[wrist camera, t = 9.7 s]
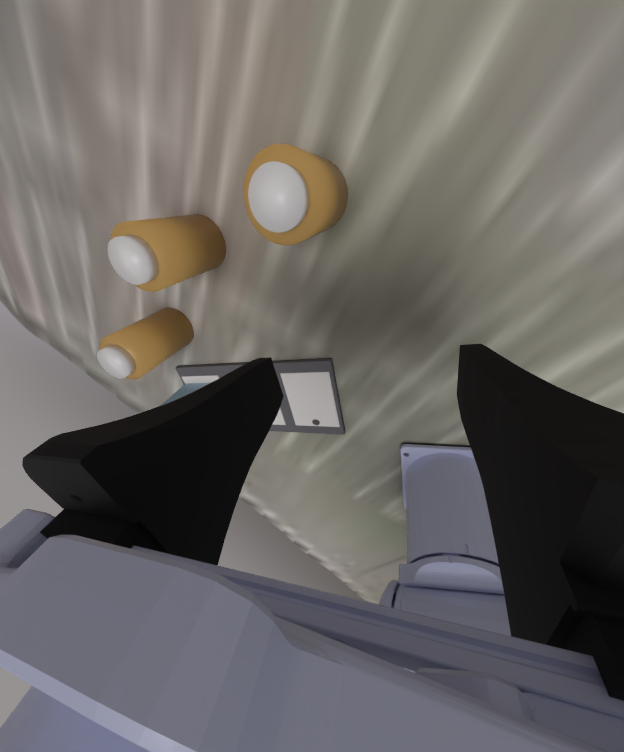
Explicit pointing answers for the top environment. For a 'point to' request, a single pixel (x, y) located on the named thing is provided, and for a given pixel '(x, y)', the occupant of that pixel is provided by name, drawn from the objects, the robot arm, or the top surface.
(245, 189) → the bottle
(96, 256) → the top surface
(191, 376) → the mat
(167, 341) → the bottle
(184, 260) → the bottle
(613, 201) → the top surface
